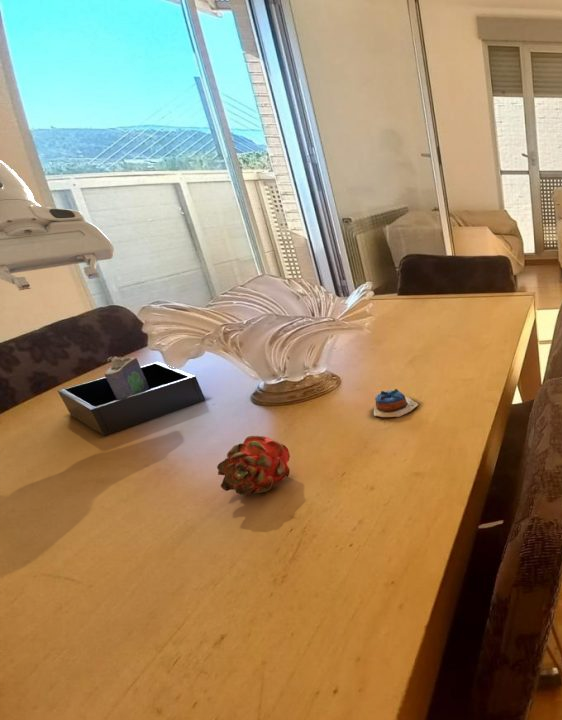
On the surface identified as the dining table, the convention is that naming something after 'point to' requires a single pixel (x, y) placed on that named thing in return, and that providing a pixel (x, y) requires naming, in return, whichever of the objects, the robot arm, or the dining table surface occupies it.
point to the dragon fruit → (254, 465)
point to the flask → (126, 377)
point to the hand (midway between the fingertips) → (60, 281)
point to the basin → (131, 399)
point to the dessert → (393, 404)
